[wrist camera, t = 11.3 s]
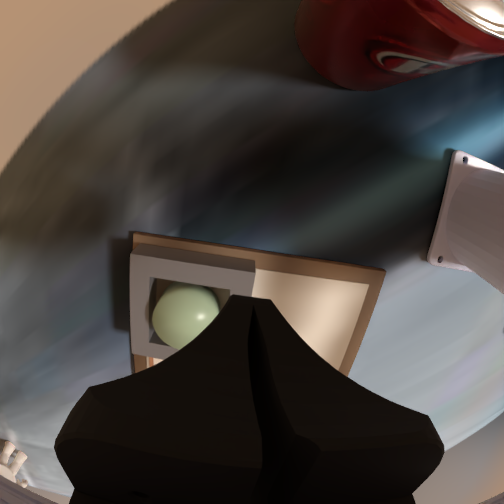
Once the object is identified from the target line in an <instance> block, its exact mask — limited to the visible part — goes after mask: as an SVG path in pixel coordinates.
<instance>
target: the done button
mask: <svg viewBox="0 0 504 504" xmlns="http://www.w3.org/2000/svg"><path fill="white" fill-rule="evenodd" d="M220 310H221V308H220V302H219V299H218V297H217V295H216V294H215V293H214V291H213V290H212V289H211V288H210V287H208V286H204V285H197V284H191V283H184V282H178V281H176V282H174V283H172V284H170V285H169V286H168V287H167V288H166V289H165V290H164V292H163V294H162V296H161V298H160V299H159V301H158V303H157V305H156V307H155V309H154V312H153V316H152V322H153V327H154V329H155V331H156V333H157V335H158V336H159V337H160V338H161V340H163V341H164V342H165V343H166V344H168V345H169V346H171V347H173V348H176V349H179V350H180V349H181V348H183V347H184V346H185V345H187V344H188V343H189V342H191V341H192V340H193V339H194V338H195V337H197V336H198V335H199V334H200V333H201V332H202V331H203V330H204V329H205V328H206V327H207V326H208V325H209V324H210V323H211V322H212V321H213V319H214V318H215V317H216V316H217V315H218V313H219V312H220Z"/></svg>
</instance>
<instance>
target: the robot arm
mask: <svg viewBox="0 0 504 504" xmlns="http://www.w3.org/2000/svg"><path fill="white" fill-rule="evenodd" d="M463 157H464V158H465V162H464V163H463ZM439 256H441V258H440V260H438V257H439ZM437 260H438V261H437ZM427 261H428V262H429V263H430V264H432V265H436V266H441V267H447V268H453V269H458V270H464V271H469V272H475V273H476V274H477V275H479V276H480V277H481V278H483V279H484V280H486V281H487V282H488V283H490V284H491V285H492V286H494V287H495V288H496V289H498V290H499V291H500V292H502V293H503V294H504V170H502V169H500V168H498V167H496V166H494V165H492V164H490V163H488V162H485V161H483V160H481V159H479V158H477V157H474V156H472V155H470V154H468V153H465V152H463V151H460V150H455V151H454V152H453V154H452V158H451V163H450V168H449V173H448V178H447V183H446V187H445V192H444V196H443V200H442V205H441V209H440V213H439V216H438V220H437V224H436V228H435V231H434V235H433V238H432V242H431V245H430V248H429V252H428V255H427ZM54 449H55V452H56V455H57V458H58V460H59V462H60V464H61V466H62V467H63V469H64V471H65V473H66V475H67V476H68V478H69V480H70V481H71V483H72V485H73V486H74V488H75V489H74V492H73V494H72V497H71V499H70V502H69V504H415V500H414V498H413V495H412V493H413V492H414V491H415V490H416V489H417V488H418V487H419V486H420V485H421V484H422V483H423V482H424V481H425V480H426V479H427V478H428V477H429V476H430V475H431V474H432V473H433V472H434V470H435V469H436V468H437V466H438V465H439V464H440V462H441V459H442V457H443V454H444V445H443V443H442V441H441V439H440V437H439V435H438V433H437V431H436V429H435V427H434V425H433V423H432V421H431V420H430V418H429V416H428V415H425V414H422V413H420V412H417V411H414V410H412V409H409V408H406V407H404V406H401V405H398V404H396V403H394V402H391V401H389V400H387V399H385V398H383V397H381V396H379V395H377V394H375V393H373V392H371V391H369V390H368V389H366V388H364V387H362V386H361V385H359V384H357V383H356V382H354V381H353V380H351V379H350V378H348V377H347V376H345V375H344V374H342V373H341V372H339V371H338V370H337V369H335V368H334V367H333V366H331V365H330V364H329V363H328V362H327V361H325V360H324V359H323V358H322V357H321V356H319V355H318V354H317V353H316V352H315V351H314V350H313V349H312V348H311V347H310V346H309V345H308V344H307V343H306V342H305V341H304V340H303V339H302V338H301V337H300V336H299V335H298V334H297V332H296V331H295V330H294V329H293V328H292V327H291V325H290V324H289V323H288V322H287V320H286V319H285V318H284V316H283V315H282V314H281V312H280V311H279V310H278V308H277V307H276V306H275V304H274V303H273V302H272V300H271V299H264V298H257V297H250V296H243V295H235V294H232V295H231V296H229V298H228V300H227V302H226V304H225V305H224V307H223V308H222V310H221V311H220V312H219V313H218V315H217V316H216V317H215V318H214V319H213V321H212V322H211V323H210V324H209V325H208V326H207V327H206V328H205V329H204V330H203V331H202V332H201V333H200V334H199V335H198V336H197V337H195V338H194V339H193V340H192V341H191V342H189V343H188V344H187V345H185V346H184V347H183V348H181V349H180V350H179V351H177V352H176V353H174V354H172V355H171V356H169V357H168V358H166V359H164V360H163V361H161V362H159V363H157V364H155V365H153V366H151V367H149V368H147V369H145V370H142V371H140V372H137V373H135V374H132V375H129V376H127V377H124V378H120V379H117V380H114V381H110V382H107V383H103V384H99V385H95V386H91V387H89V388H88V389H87V390H86V392H85V393H84V394H83V396H82V397H81V398H80V399H79V401H78V402H77V403H76V405H75V406H74V407H73V409H72V410H71V412H70V414H69V415H68V417H67V419H66V421H65V423H64V425H63V427H62V429H61V430H60V432H59V434H58V436H57V438H56V440H55V445H54ZM0 504H57V503H55V502H53V501H51V500H48V499H46V498H44V497H42V496H40V495H38V494H35V493H33V492H31V491H29V490H27V489H25V488H24V487H22V486H20V485H18V484H16V483H14V482H12V481H11V480H9V479H7V478H5V477H3V476H2V475H0ZM479 504H504V492H503V493H501V494H499V495H497V496H495V497H493V498H491V499H488V500H486V501H484V502H482V503H479Z"/></svg>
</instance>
